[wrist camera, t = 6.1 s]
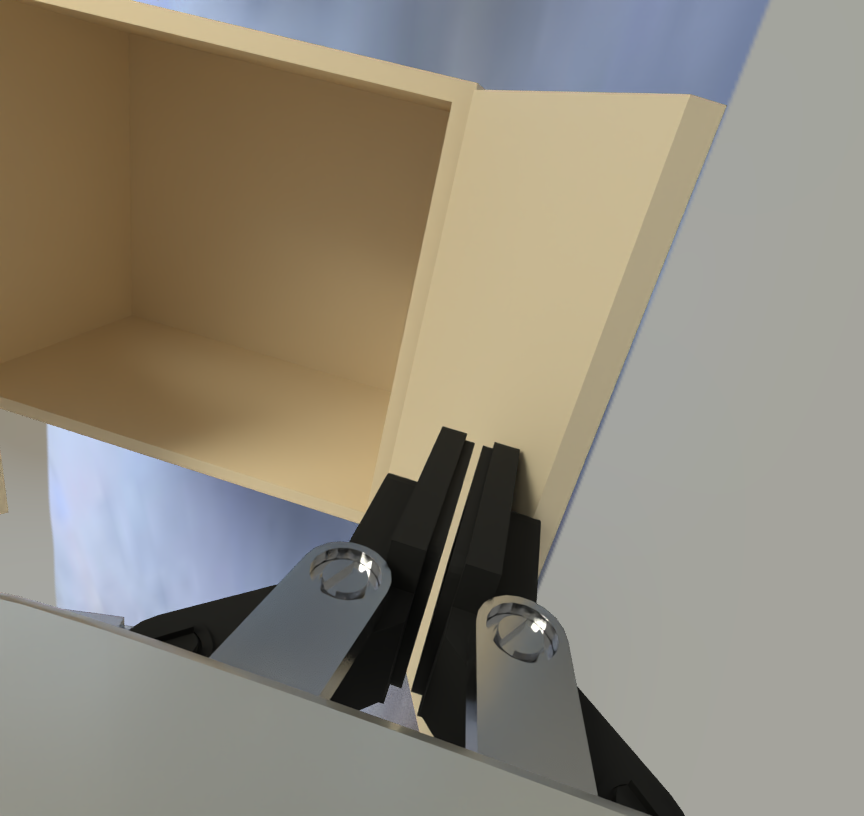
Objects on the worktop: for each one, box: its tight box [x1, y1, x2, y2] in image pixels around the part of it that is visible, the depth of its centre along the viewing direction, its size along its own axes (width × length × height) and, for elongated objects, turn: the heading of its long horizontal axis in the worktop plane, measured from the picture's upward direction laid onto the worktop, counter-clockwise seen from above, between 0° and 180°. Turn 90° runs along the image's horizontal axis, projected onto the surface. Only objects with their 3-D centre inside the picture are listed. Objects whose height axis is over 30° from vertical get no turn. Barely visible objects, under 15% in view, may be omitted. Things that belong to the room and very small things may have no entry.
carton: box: [0, 0, 485, 524], centre depth 26 cm, size 16×20×12 cm
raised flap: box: [389, 90, 727, 737], centre depth 15 cm, size 16×10×1 cm
